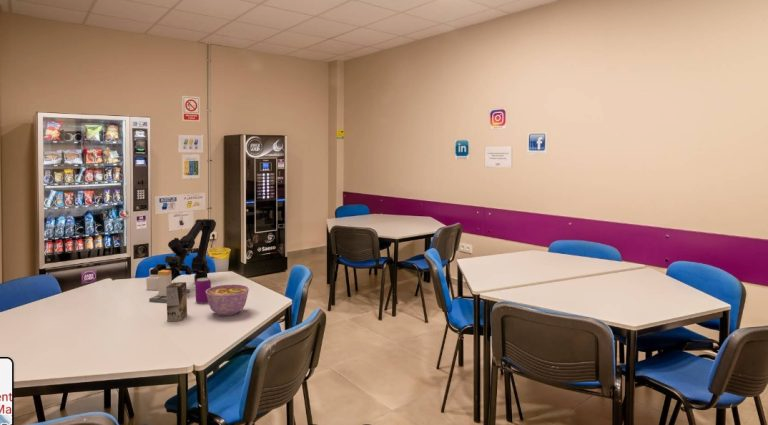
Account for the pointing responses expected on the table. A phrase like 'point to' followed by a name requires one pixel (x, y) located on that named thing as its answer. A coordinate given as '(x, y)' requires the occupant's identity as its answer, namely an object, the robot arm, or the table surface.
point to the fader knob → (164, 281)
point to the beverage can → (202, 289)
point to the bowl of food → (227, 298)
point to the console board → (162, 298)
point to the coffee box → (176, 301)
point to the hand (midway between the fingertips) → (167, 282)
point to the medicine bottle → (152, 279)
